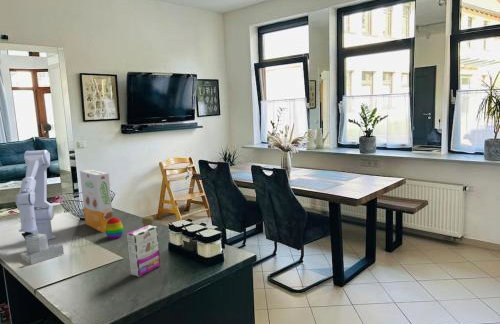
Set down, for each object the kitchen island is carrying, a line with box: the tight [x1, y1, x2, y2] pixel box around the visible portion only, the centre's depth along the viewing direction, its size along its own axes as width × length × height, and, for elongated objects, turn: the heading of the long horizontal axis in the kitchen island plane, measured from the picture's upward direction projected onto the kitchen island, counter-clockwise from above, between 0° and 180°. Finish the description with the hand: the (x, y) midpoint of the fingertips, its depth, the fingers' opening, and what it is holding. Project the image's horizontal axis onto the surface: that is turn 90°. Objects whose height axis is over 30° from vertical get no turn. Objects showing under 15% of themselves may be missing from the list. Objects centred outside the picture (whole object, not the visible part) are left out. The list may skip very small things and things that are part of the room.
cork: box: [141, 215, 154, 227], centre depth 176 cm, size 6×6×11 cm
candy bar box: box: [126, 225, 161, 278], centre depth 141 cm, size 11×5×16 cm, turn 148°
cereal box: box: [79, 169, 113, 233], centre depth 197 cm, size 22×6×30 cm, turn 44°
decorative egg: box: [105, 216, 124, 240], centre depth 181 cm, size 8×8×10 cm
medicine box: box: [24, 234, 49, 255], centre depth 162 cm, size 8×4×9 cm, turn 71°
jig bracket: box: [20, 244, 65, 266], centre depth 160 cm, size 12×13×4 cm
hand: (31, 247), depth 167 cm, fingers closed
